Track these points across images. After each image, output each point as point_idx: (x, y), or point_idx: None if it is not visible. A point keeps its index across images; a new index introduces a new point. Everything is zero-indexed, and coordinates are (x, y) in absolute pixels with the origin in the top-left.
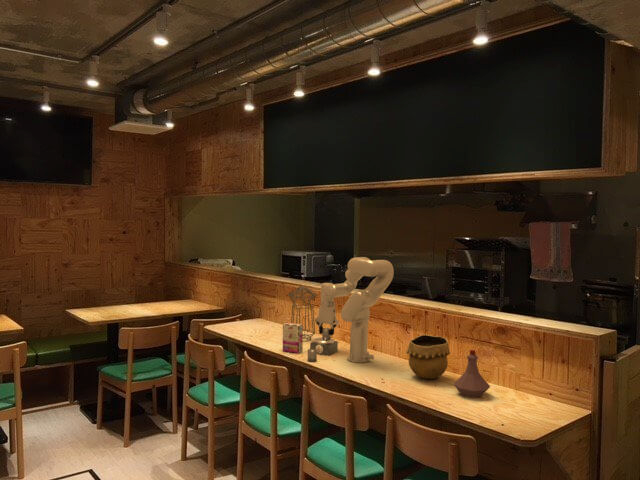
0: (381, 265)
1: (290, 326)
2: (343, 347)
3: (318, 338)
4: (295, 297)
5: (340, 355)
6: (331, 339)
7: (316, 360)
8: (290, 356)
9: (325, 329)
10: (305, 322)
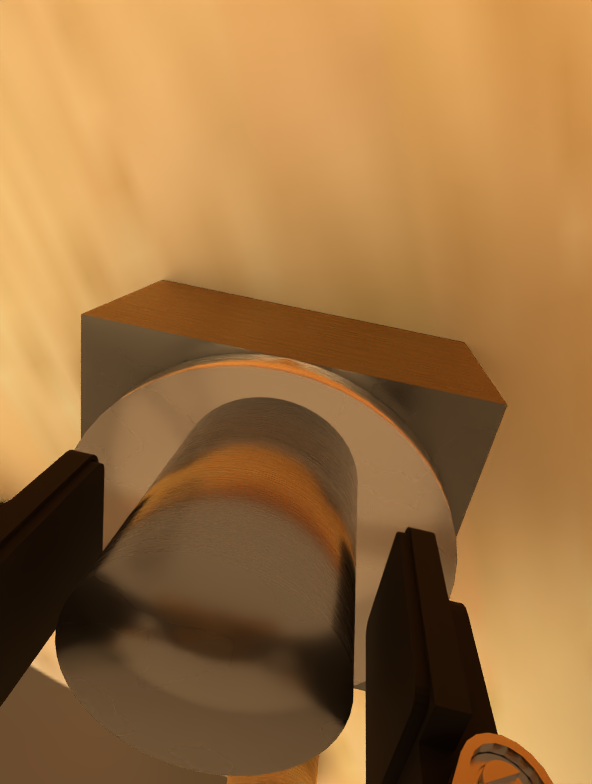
0: None
1: None
2: (541, 4)
3: (106, 481)
4: None
5: (532, 532)
6: (379, 489)
7: (317, 760)
8: (42, 666)
9: (195, 744)
10: None
